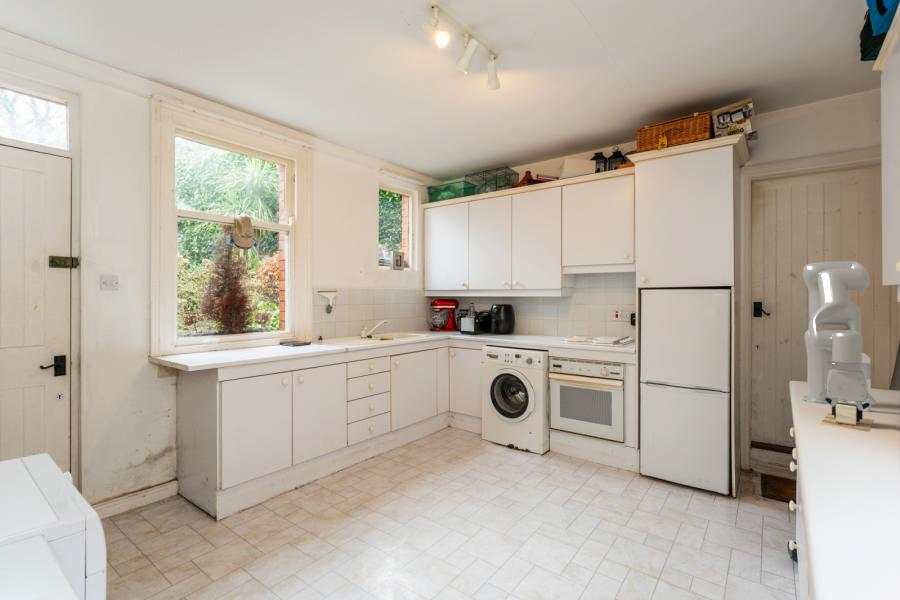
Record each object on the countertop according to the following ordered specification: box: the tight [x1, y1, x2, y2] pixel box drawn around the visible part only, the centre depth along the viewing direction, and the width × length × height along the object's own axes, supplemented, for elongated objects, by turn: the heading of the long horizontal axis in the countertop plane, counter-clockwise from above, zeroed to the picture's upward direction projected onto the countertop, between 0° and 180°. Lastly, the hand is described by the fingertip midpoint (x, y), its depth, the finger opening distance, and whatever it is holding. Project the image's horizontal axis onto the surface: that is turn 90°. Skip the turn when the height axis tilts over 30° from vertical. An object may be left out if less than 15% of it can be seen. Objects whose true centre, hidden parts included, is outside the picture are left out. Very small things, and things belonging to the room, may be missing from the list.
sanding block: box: [836, 400, 858, 425], centre depth 146 cm, size 8×5×6 cm, turn 132°
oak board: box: [820, 411, 875, 433], centre depth 147 cm, size 22×12×1 cm, turn 132°
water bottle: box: [845, 351, 872, 412], centre depth 163 cm, size 7×7×25 cm
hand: (847, 418), depth 146 cm, fingers closed on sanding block, 5 cm apart
